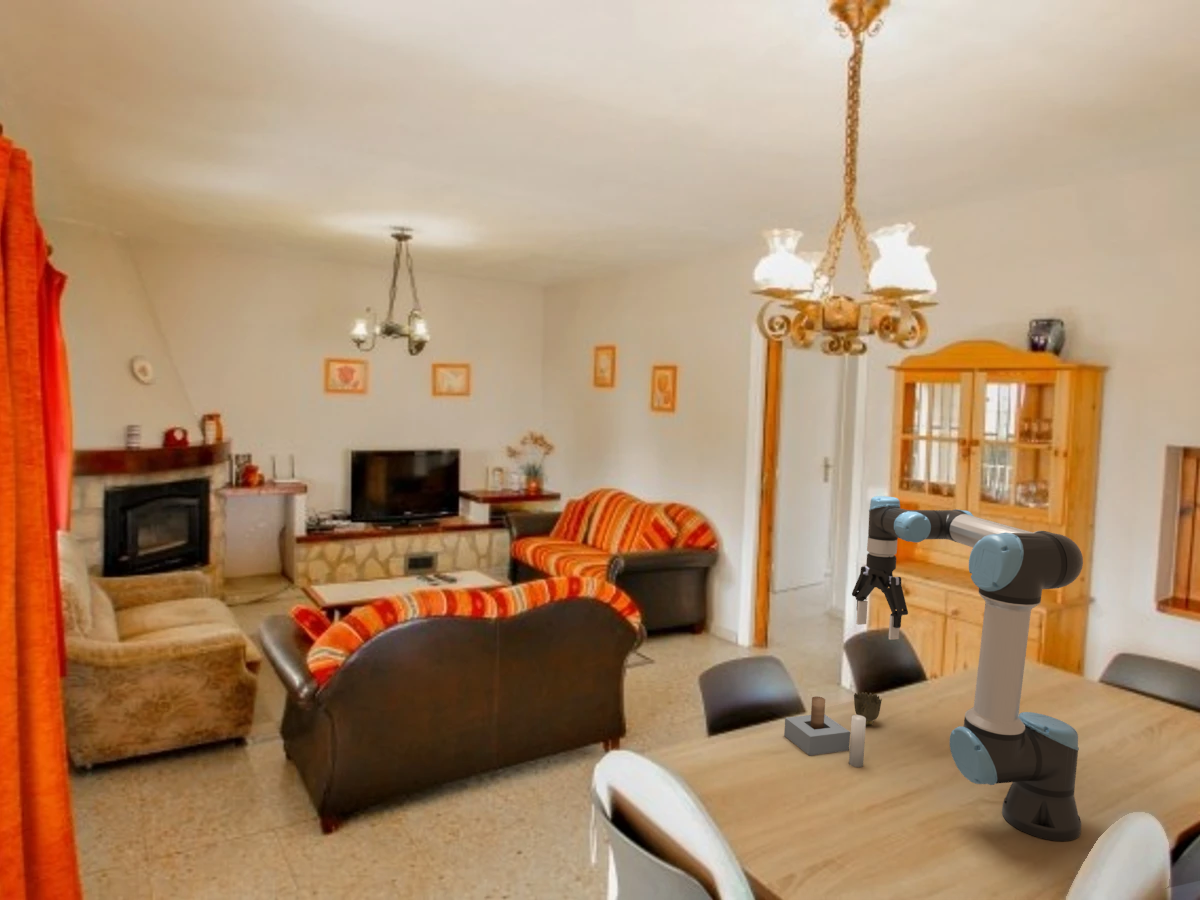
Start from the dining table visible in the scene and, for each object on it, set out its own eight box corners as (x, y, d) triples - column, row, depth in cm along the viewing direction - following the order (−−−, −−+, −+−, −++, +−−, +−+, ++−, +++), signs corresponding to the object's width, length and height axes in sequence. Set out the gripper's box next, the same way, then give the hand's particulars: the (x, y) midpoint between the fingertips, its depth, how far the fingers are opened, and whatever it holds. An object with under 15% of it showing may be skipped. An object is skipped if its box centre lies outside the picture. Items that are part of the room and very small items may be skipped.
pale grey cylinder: (866, 766, 199) (868, 719, 198) (854, 767, 198) (857, 721, 197) (857, 760, 202) (860, 714, 201) (846, 761, 201) (848, 715, 200)
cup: (883, 730, 220) (885, 702, 220) (857, 729, 221) (858, 701, 220) (875, 719, 228) (876, 692, 227) (849, 718, 228) (850, 690, 227)
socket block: (849, 750, 207) (850, 731, 207) (809, 755, 203) (810, 736, 203) (822, 731, 219) (823, 713, 218) (784, 735, 215) (785, 717, 214)
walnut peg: (825, 745, 210) (827, 700, 209) (814, 746, 209) (816, 702, 208) (818, 739, 213) (820, 696, 212) (807, 740, 212) (809, 697, 211)
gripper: (925, 563, 203) (920, 644, 205) (864, 544, 227) (860, 617, 228) (901, 564, 201) (896, 646, 202) (841, 545, 224) (837, 619, 226)
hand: (877, 631), depth 215 cm, fingers open, 13 cm apart
